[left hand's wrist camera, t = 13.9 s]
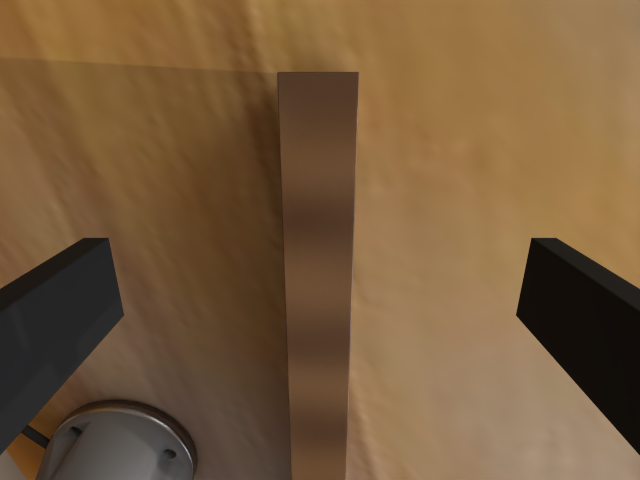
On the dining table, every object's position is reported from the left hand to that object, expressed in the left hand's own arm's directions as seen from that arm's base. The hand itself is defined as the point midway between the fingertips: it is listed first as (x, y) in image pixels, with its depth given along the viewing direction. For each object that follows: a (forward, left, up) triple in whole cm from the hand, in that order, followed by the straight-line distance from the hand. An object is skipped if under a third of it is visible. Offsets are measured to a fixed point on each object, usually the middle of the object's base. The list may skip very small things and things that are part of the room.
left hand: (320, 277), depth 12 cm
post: (+9, -29, -21) cm, 37 cm away
